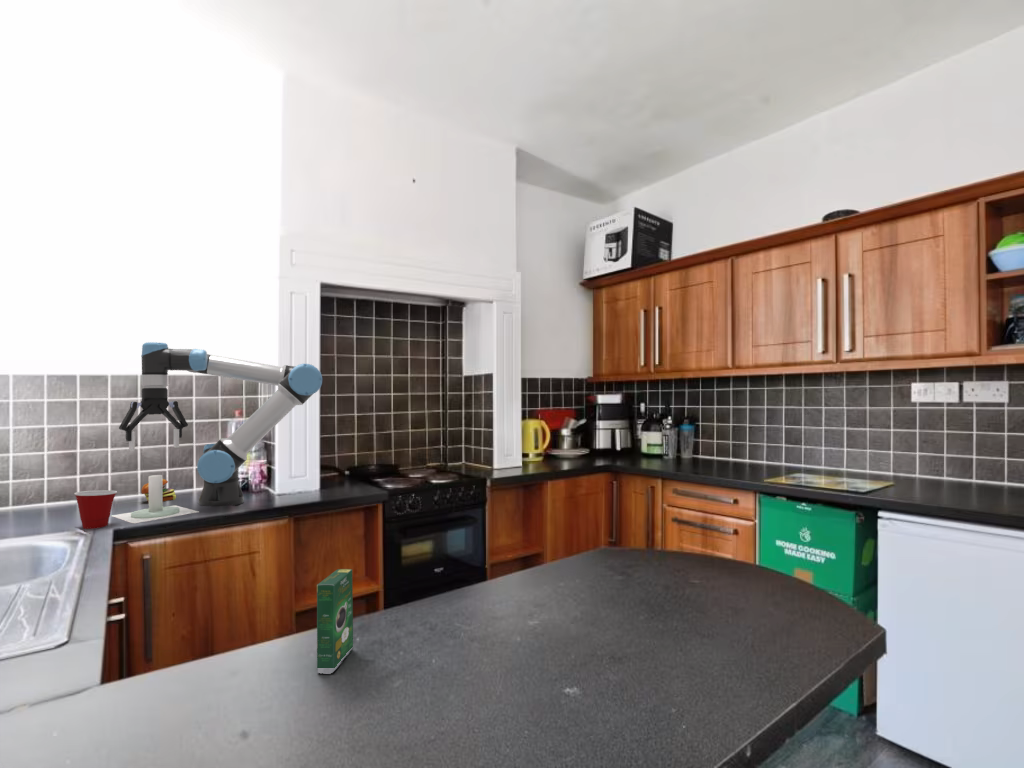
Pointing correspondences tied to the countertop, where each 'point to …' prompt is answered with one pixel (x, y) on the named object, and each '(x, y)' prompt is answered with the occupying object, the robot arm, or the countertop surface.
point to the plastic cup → (95, 507)
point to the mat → (128, 518)
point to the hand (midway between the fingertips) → (154, 449)
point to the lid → (155, 501)
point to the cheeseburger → (167, 493)
